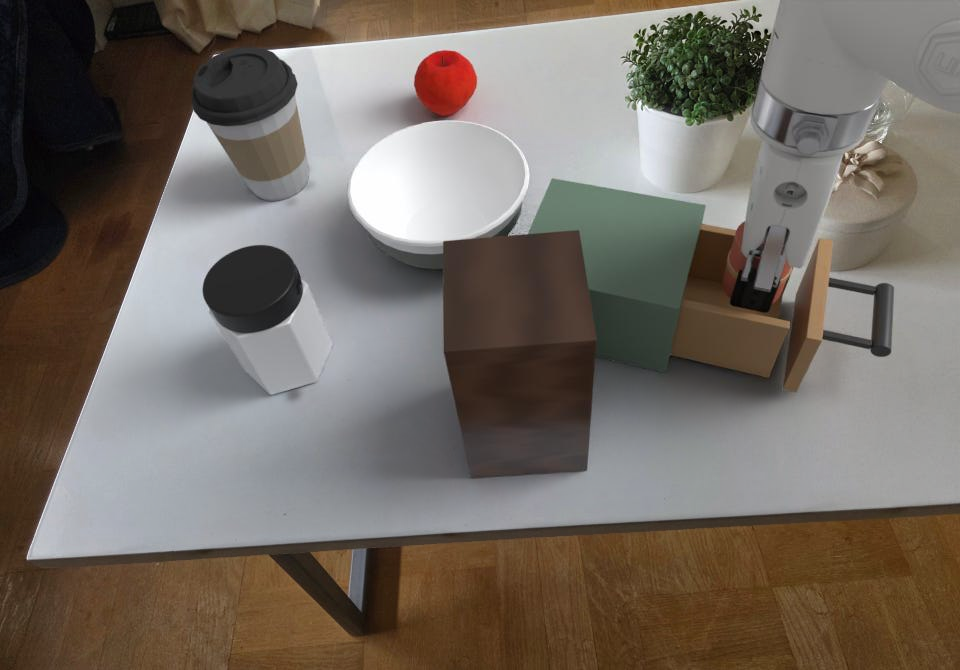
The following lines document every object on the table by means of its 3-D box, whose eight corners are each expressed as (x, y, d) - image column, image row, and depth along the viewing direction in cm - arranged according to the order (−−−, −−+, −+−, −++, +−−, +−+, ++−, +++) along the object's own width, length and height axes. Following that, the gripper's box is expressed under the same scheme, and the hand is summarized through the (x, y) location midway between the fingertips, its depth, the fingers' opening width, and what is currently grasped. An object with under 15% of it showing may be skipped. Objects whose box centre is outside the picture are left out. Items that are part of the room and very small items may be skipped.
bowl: (531, 297, 74) (529, 241, 68) (351, 301, 76) (332, 246, 69) (531, 174, 85) (529, 115, 79) (374, 179, 87) (359, 122, 80)
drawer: (873, 309, 69) (905, 252, 62) (867, 409, 63) (901, 357, 56) (667, 268, 74) (678, 211, 68) (643, 357, 68) (651, 304, 61)
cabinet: (690, 274, 74) (706, 204, 67) (665, 373, 67) (679, 308, 60) (552, 246, 78) (552, 177, 70) (515, 337, 71) (510, 272, 64)
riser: (574, 373, 68) (579, 229, 53) (587, 470, 62) (597, 339, 47) (468, 381, 69) (442, 240, 54) (470, 478, 63) (443, 351, 48)
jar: (349, 355, 72) (317, 275, 62) (284, 410, 69) (240, 334, 59) (294, 310, 76) (256, 227, 66) (230, 359, 73) (180, 280, 63)
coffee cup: (252, 148, 92) (206, 39, 80) (337, 151, 91) (304, 41, 79) (219, 211, 86) (164, 103, 74) (311, 216, 84) (269, 106, 72)
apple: (472, 130, 91) (466, 78, 85) (411, 126, 92) (401, 75, 87) (485, 91, 96) (480, 39, 90) (426, 88, 97) (418, 37, 91)
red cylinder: (786, 270, 64) (804, 221, 60) (779, 315, 62) (798, 267, 57) (725, 258, 66) (739, 210, 61) (716, 301, 63) (729, 254, 58)
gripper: (866, 200, 43) (787, 370, 58) (880, 39, 52) (809, 221, 67) (736, 178, 45) (691, 348, 60) (771, 27, 54) (725, 206, 69)
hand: (754, 279), depth 63 cm, fingers closed on red cylinder, 5 cm apart
